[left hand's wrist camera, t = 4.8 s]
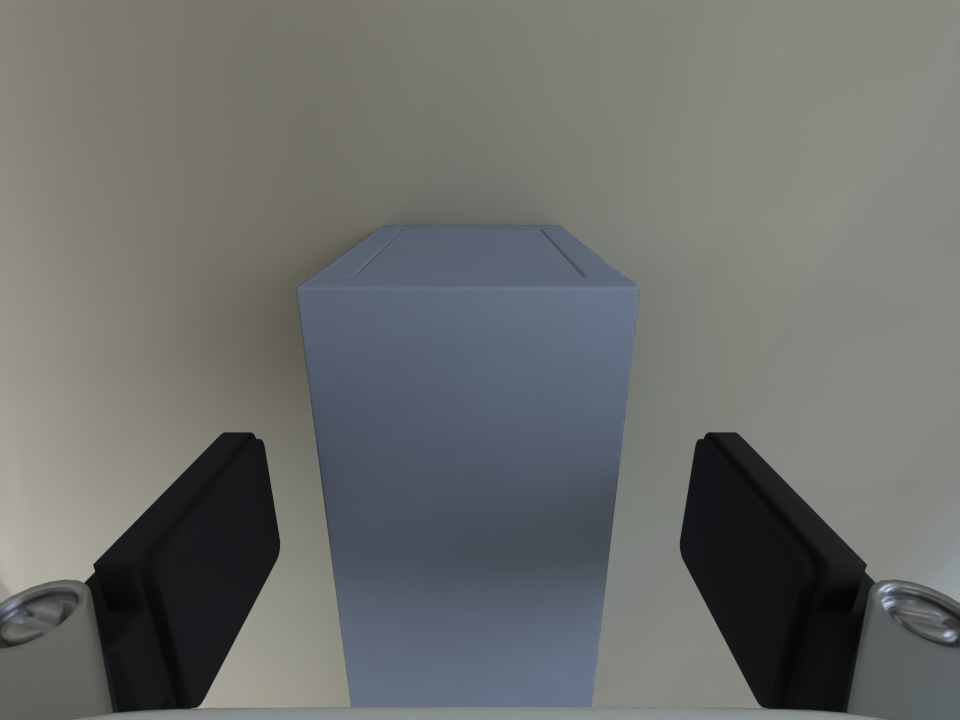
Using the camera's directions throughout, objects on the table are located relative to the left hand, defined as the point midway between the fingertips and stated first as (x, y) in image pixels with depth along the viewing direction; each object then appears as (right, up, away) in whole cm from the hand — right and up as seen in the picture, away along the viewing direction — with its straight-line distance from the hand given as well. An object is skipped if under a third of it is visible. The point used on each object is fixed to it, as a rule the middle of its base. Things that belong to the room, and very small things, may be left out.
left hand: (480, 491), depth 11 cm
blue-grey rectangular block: (0, -2, +10) cm, 10 cm away
